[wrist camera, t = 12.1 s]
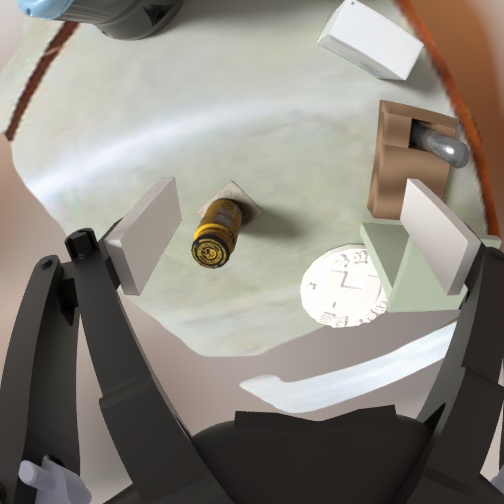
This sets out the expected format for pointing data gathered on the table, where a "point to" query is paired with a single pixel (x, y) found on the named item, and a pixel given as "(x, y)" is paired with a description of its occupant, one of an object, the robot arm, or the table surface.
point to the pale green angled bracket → (409, 269)
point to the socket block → (405, 158)
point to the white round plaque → (343, 288)
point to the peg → (440, 145)
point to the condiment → (222, 225)
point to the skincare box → (370, 41)
